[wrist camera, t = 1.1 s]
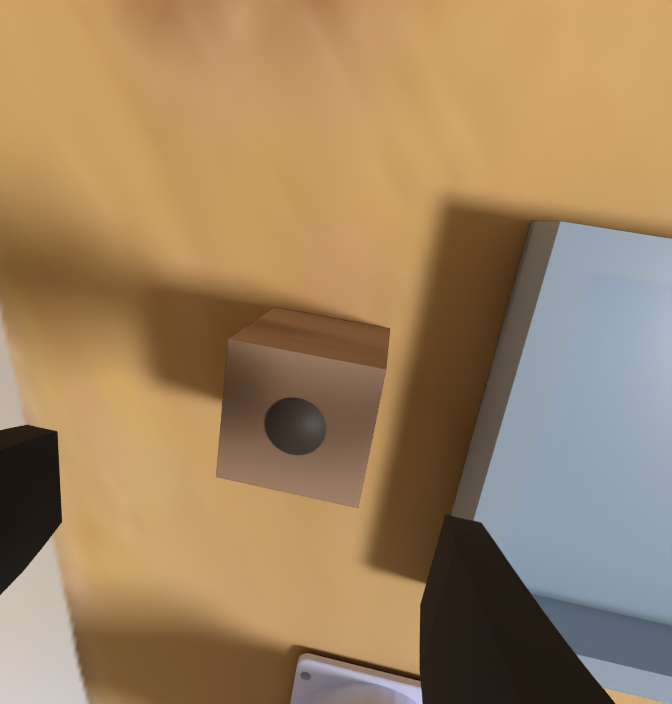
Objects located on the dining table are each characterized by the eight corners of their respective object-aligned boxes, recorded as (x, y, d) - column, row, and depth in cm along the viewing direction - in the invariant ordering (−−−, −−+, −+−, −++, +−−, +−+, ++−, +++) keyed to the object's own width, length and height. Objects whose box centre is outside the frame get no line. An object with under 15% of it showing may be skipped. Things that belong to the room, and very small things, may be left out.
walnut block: (369, 434, 18) (358, 509, 14) (262, 412, 19) (215, 477, 14) (390, 328, 17) (386, 370, 12) (274, 306, 18) (227, 339, 13)
